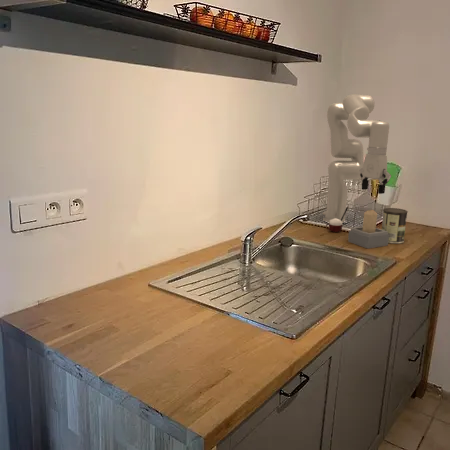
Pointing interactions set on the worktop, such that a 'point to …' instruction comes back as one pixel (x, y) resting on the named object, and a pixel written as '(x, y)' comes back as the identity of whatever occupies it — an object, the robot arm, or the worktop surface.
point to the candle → (369, 221)
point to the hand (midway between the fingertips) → (372, 191)
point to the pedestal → (368, 238)
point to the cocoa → (336, 224)
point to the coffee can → (394, 224)
